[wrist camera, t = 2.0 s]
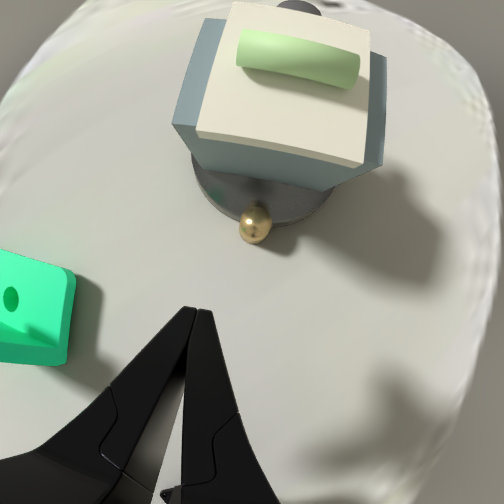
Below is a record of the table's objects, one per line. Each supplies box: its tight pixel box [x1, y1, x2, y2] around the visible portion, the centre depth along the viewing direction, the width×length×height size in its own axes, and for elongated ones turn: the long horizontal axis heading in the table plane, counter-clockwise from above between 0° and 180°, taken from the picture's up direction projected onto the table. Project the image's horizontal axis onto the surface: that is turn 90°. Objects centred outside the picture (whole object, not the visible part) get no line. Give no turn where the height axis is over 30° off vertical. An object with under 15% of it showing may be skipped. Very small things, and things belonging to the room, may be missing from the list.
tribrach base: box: [191, 153, 335, 244], centre depth 22 cm, size 13×13×4 cm
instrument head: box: [172, 0, 387, 192], centre depth 15 cm, size 10×10×13 cm
